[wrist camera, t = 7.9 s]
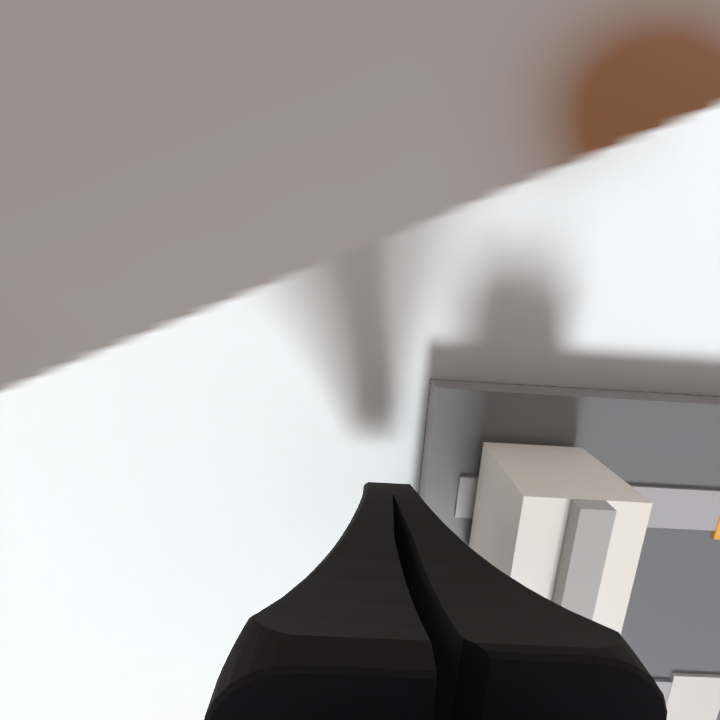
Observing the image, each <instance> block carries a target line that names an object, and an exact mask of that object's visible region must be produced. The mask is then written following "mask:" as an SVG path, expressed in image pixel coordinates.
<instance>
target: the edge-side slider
mask: <svg viewBox="0 0 720 720" xmlns="http://www.w3.org/2000/svg"><path fill="white" fill-rule="evenodd" d="M652 504H653V503H652V502H651V501H649V500H648V499H647V498H646V497H644V496H643V495H642V494H641V493H639V492H638V491H637V490H635V489H634V488H633V487H632V486H630V485H629V484H628V483H627V482H625V481H624V480H623V479H621V478H620V477H619V476H618V475H616V474H615V473H614V472H613V471H611V470H610V469H609V468H607V467H606V466H605V465H604V464H602V463H601V462H600V461H599V460H597V459H596V458H595V457H593V456H592V455H591V454H590V453H588V452H587V451H586V450H585V449H583V448H582V447H564V446H546V445H528V444H510V443H493V442H483V449H482V456H481V464H480V471H479V478H478V485H477V492H476V499H475V507H474V514H473V521H472V528H471V535H470V543H469V547H470V548H471V549H473V550H474V551H475V552H476V553H478V554H479V555H480V556H482V557H483V558H484V559H485V560H487V561H488V562H489V563H491V564H492V565H493V566H495V567H496V568H498V569H499V570H500V571H502V572H503V573H505V574H506V575H508V576H510V577H511V578H513V579H514V580H516V581H517V582H519V583H521V584H522V585H524V586H525V587H527V588H529V589H531V590H532V591H534V592H536V593H537V594H539V595H541V596H543V597H545V598H547V599H549V600H550V601H552V602H554V603H556V604H558V605H560V606H562V607H564V608H566V609H568V610H570V611H572V612H574V613H576V614H579V615H581V616H583V617H586V618H588V619H590V620H592V621H595V622H597V623H599V624H601V625H604V626H606V627H608V628H611V629H613V630H615V631H617V632H619V633H620V635H621V631H622V627H623V623H624V619H625V615H626V611H627V607H628V603H629V599H630V594H631V590H632V586H633V582H634V578H635V574H636V570H637V566H638V562H639V557H640V553H641V549H642V545H643V541H644V537H645V533H646V529H647V525H648V521H649V516H650V512H651V508H652Z"/></svg>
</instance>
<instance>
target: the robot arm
mask: <svg viewBox="0 0 720 720" xmlns="http://www.w3.org/2000/svg"><path fill="white" fill-rule="evenodd" d="M204 720H667V707H666V703H665V699H664V695H663V693H662V691H661V690H660V688H659V687H658V685H657V684H656V682H655V680H654V679H653V678H652V676H651V675H650V673H649V672H648V671H647V669H646V668H645V666H644V665H643V664H642V662H641V661H640V659H639V658H638V657H637V655H636V654H635V653H634V651H633V650H632V649H631V647H630V646H629V645H628V643H627V642H626V641H625V639H624V638H623V637H622V636H621V635H620V633H619V632H617V631H615V630H613V629H611V628H608V627H606V626H604V625H601V624H599V623H597V622H595V621H592V620H590V619H588V618H586V617H583V616H581V615H579V614H576V613H574V612H572V611H570V610H568V609H566V608H564V607H562V606H560V605H558V604H556V603H554V602H552V601H550V600H549V599H547V598H545V597H543V596H541V595H539V594H537V593H536V592H534V591H532V590H531V589H529V588H527V587H525V586H524V585H522V584H521V583H519V582H517V581H516V580H514V579H513V578H511V577H510V576H508V575H506V574H505V573H503V572H502V571H500V570H499V569H498V568H496V567H495V566H493V565H492V564H491V563H489V562H488V561H487V560H485V559H484V558H483V557H482V556H480V555H479V554H478V553H476V552H475V551H474V550H473V549H471V548H470V547H469V546H468V545H467V544H465V543H464V542H463V541H462V540H461V539H460V538H459V537H458V536H457V535H456V534H455V533H454V532H452V531H451V530H450V529H449V528H448V527H447V526H446V525H445V524H444V523H443V522H442V521H441V520H440V519H439V517H438V516H437V515H436V514H435V513H434V512H433V511H432V510H431V509H430V508H429V506H428V505H427V504H426V503H425V502H424V501H423V499H422V498H421V497H420V496H419V495H418V493H417V492H416V491H415V490H414V489H413V488H412V486H411V485H410V484H392V483H373V482H368V483H366V484H365V485H364V490H363V495H362V499H361V501H360V504H359V506H358V508H357V510H356V512H355V514H354V516H353V518H352V520H351V522H350V524H349V525H348V527H347V528H346V530H345V532H344V533H343V535H342V537H341V538H340V539H339V541H338V542H337V544H336V545H335V546H334V548H333V549H332V550H331V551H330V553H329V554H328V555H327V556H326V557H325V559H324V560H323V561H322V562H321V563H320V564H319V565H318V566H317V567H316V568H315V569H314V570H313V571H312V572H311V573H310V574H309V575H308V576H307V577H306V578H305V579H304V580H303V581H302V582H300V583H299V584H298V585H297V586H296V587H294V588H293V589H292V590H291V591H290V592H288V593H287V594H286V595H285V596H284V597H282V598H281V599H279V600H278V601H276V602H274V603H273V604H271V605H270V606H268V607H267V608H265V609H263V610H262V611H260V612H259V613H257V614H255V615H253V616H252V617H250V618H249V620H248V621H247V623H246V625H245V626H244V628H243V630H242V632H241V633H240V635H239V637H238V638H237V640H236V642H235V644H234V646H233V648H232V650H231V652H230V654H229V656H228V658H227V660H226V662H225V664H224V666H223V668H222V671H221V673H220V675H219V678H218V680H217V683H216V686H215V689H214V692H213V695H212V698H211V701H210V704H209V707H208V709H207V712H206V715H205V719H204Z"/></svg>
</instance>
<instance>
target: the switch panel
mask: <svg viewBox="0 0 720 720" xmlns="http://www.w3.org/2000/svg"><path fill="white" fill-rule="evenodd" d="M483 442H493V443H510V444H528V445H546V446H564V447H582V448H583V449H585V450H586V451H587V452H588V453H590V454H591V455H592V456H593V457H595V458H596V459H597V460H599V461H600V462H601V463H602V464H604V465H605V466H606V467H607V468H609V469H610V470H611V471H613V472H614V473H615V474H616V475H618V476H619V477H620V478H621V479H623V480H624V481H625V482H627V483H628V484H629V485H630V486H632V487H633V488H634V489H635V490H637V491H638V492H639V493H641V494H642V495H643V496H644V497H646V498H647V499H648V500H649V501H651V502H652V503H653V504H652V508H651V512H650V516H649V521H648V525H647V529H646V533H645V537H644V541H643V545H642V549H641V553H640V557H639V562H638V566H637V570H636V574H635V578H634V582H633V586H632V590H631V594H630V599H629V603H628V607H627V611H626V615H625V619H624V623H623V627H622V631H621V636H622V637H623V638H624V639H625V641H626V642H627V643H628V645H629V646H630V647H631V649H632V650H633V651H634V653H635V654H636V655H637V657H638V658H639V659H640V661H641V662H642V664H643V665H644V666H645V668H646V669H647V671H648V672H649V673H650V675H651V676H652V678H653V679H654V680H655V682H656V684H657V685H658V687H659V688H660V690H661V691H662V693H663V695H664V699H665V703H666V707H667V720H720V397H717V396H701V395H684V394H667V393H650V392H634V391H617V390H600V389H584V388H567V387H550V386H533V385H517V384H500V383H483V382H467V381H450V380H433V379H431V385H430V394H429V403H428V413H427V422H426V432H425V441H424V451H423V460H422V470H421V479H420V488H419V496H420V497H421V498H422V499H423V501H424V502H425V503H426V504H427V505H428V506H429V508H430V509H431V510H432V511H433V512H434V513H435V514H436V515H437V516H438V517H439V519H440V520H441V521H442V522H443V523H444V524H445V525H446V526H447V527H448V528H449V529H450V530H451V531H452V532H454V533H455V534H456V535H457V536H458V537H459V538H460V539H461V540H462V541H463V542H464V543H465V544H467V545H468V546H469V543H470V535H471V528H472V521H473V514H474V507H475V499H476V492H477V485H478V478H479V471H480V464H481V456H482V449H483Z"/></svg>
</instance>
